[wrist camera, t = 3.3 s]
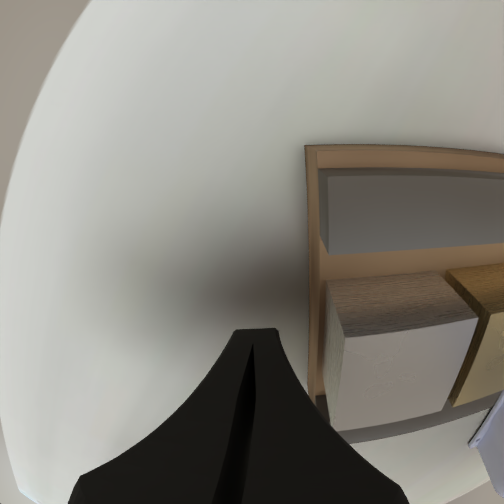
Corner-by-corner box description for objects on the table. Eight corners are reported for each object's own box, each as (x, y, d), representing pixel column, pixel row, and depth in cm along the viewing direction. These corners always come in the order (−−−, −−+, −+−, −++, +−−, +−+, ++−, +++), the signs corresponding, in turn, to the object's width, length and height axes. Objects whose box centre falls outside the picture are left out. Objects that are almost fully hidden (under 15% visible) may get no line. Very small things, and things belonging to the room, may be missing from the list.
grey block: (415, 357, 11) (441, 410, 8) (321, 370, 11) (332, 431, 8) (435, 270, 9) (478, 317, 7) (325, 279, 10) (345, 338, 7)
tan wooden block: (493, 339, 11) (524, 380, 8) (425, 355, 11) (452, 407, 8) (517, 260, 9) (561, 295, 6) (446, 269, 9) (491, 314, 7)
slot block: (458, 360, 15) (489, 412, 11) (307, 384, 16) (314, 453, 11) (499, 153, 10) (566, 172, 6) (304, 145, 11) (326, 155, 7)
